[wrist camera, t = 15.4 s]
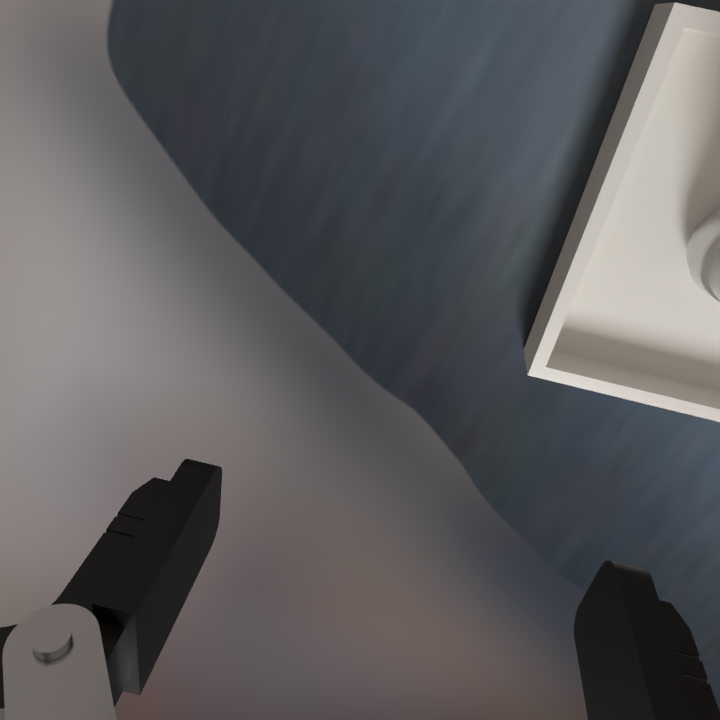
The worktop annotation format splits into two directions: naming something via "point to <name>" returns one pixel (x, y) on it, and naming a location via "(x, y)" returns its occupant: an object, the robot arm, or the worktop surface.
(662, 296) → the plastic tray
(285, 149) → the worktop surface
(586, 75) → the worktop surface
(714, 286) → the plastic bottle
